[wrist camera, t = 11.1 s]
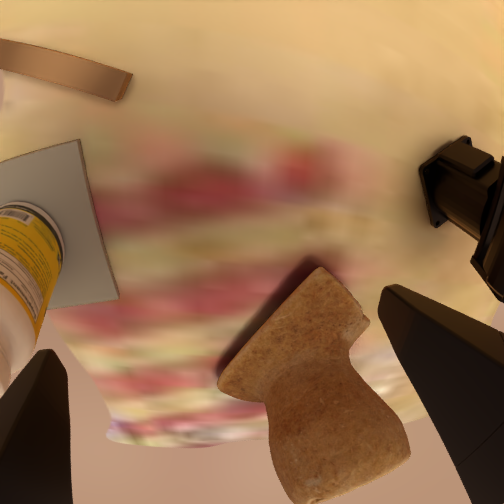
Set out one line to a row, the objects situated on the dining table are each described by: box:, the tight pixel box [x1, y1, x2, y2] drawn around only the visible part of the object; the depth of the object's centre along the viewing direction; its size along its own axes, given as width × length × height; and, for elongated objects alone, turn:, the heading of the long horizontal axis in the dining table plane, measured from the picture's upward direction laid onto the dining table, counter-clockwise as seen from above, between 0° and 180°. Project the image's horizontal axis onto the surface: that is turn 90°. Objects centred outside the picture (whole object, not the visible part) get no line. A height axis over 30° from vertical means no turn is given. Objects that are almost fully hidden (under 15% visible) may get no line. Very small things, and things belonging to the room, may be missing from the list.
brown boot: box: [217, 267, 411, 504], centre depth 22 cm, size 15×12×15 cm
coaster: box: [0, 139, 119, 310], centre depth 17 cm, size 11×11×1 cm
